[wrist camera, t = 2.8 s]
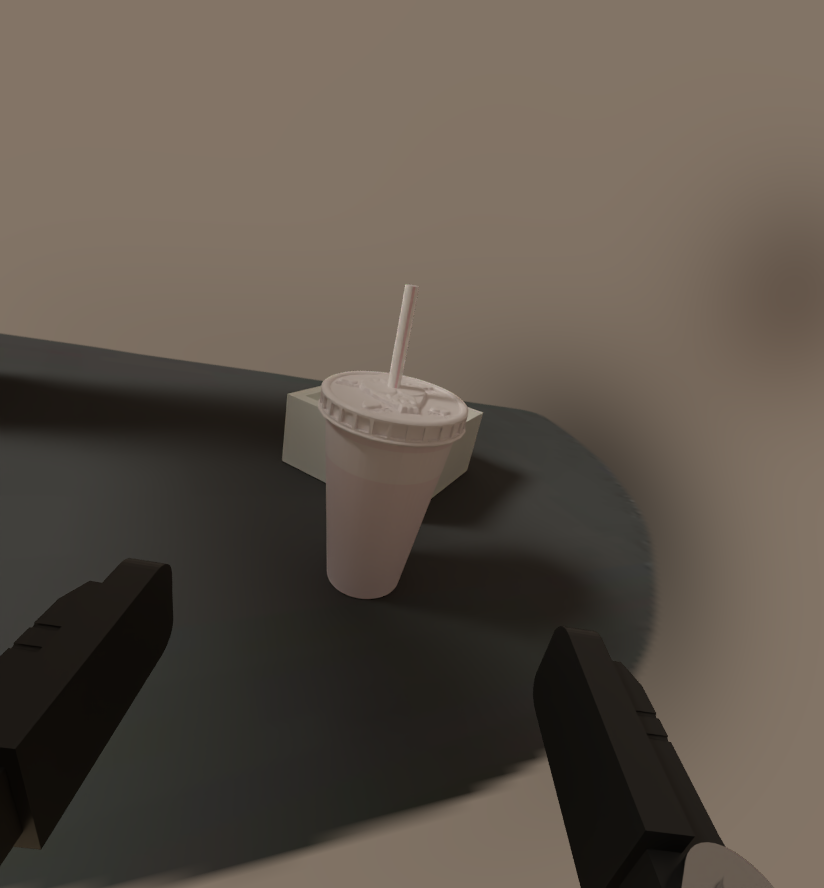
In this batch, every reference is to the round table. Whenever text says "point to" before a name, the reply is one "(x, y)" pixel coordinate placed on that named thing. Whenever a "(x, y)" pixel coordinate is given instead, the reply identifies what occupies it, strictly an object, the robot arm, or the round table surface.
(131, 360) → the round table surface
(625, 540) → the round table surface
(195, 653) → the round table surface
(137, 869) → the round table surface
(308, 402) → the box
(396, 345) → the smoothie
